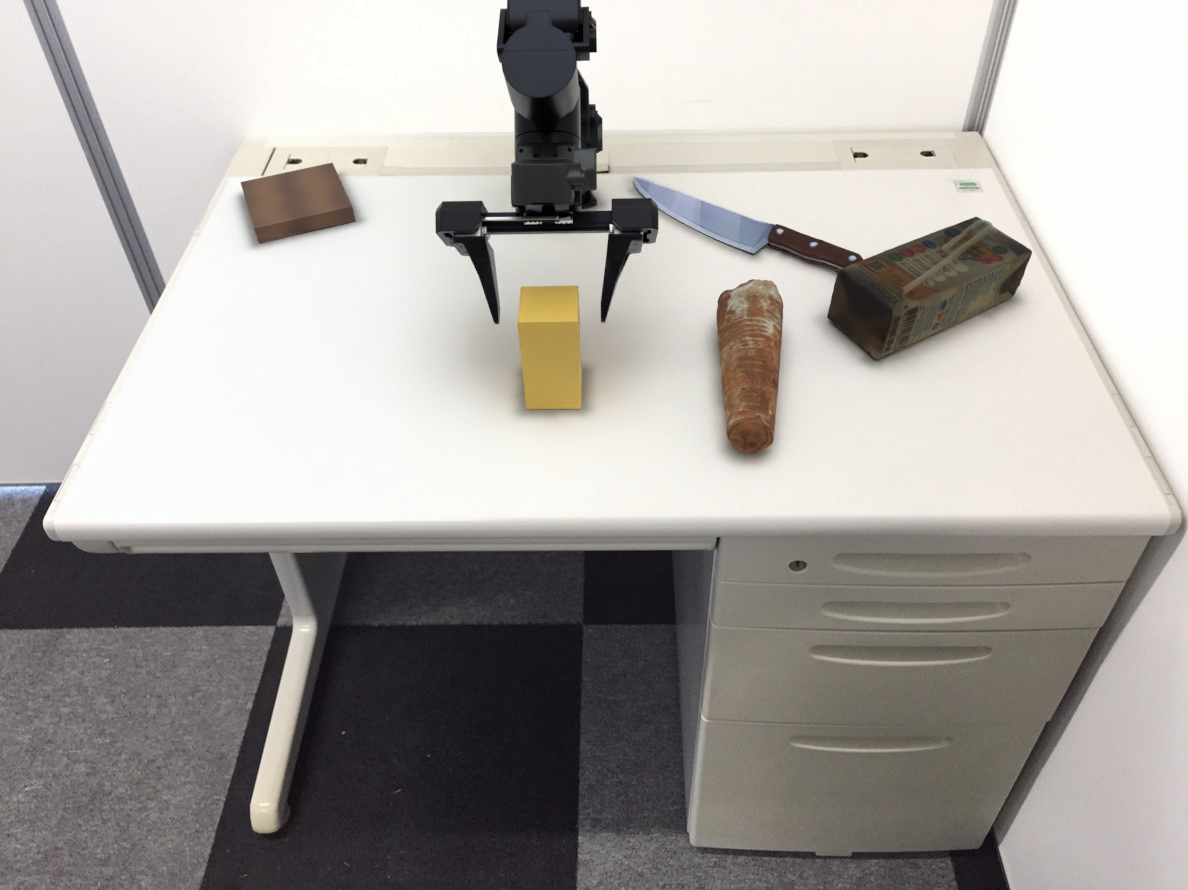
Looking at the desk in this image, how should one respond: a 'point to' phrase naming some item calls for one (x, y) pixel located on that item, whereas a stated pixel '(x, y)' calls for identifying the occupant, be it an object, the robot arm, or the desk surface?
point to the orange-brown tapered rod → (750, 361)
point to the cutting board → (297, 202)
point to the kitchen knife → (743, 227)
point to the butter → (550, 346)
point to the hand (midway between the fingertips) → (549, 323)
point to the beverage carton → (926, 285)
